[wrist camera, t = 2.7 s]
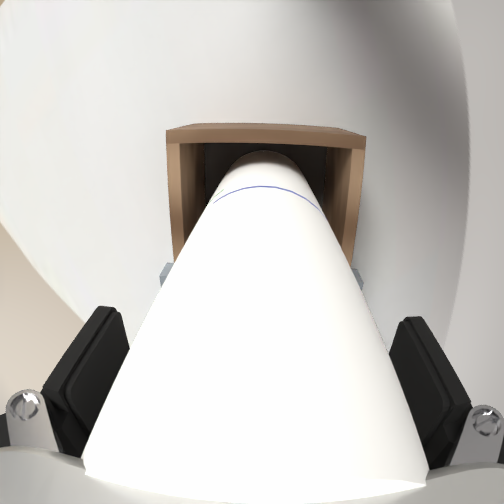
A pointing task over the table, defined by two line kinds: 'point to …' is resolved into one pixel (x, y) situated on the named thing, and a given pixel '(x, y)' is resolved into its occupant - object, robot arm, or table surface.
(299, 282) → the cylindrical container
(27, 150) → the table surface
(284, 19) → the table surface
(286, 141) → the walnut box
